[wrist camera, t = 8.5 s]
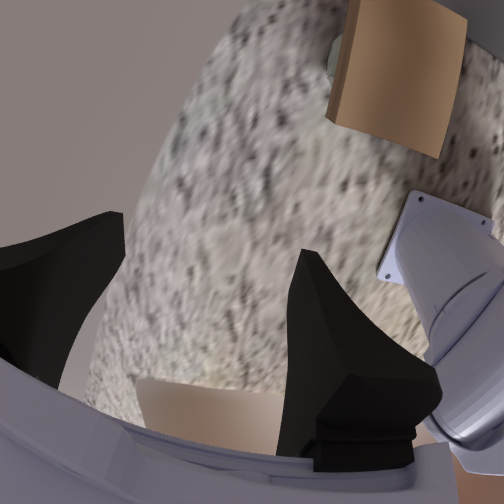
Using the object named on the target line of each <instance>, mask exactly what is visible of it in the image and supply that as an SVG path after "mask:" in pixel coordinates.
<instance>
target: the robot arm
mask: <svg viewBox="0 0 504 504" xmlns="http://www.w3.org/2000/svg"><path fill="white" fill-rule="evenodd" d="M421 196H422V200H421V201H418V199H419V197H421ZM483 220H484V221H483ZM482 221H483V223H482ZM481 223H482V224H481ZM123 225H124V224H123V213H118V212H113V211H109V212H105V213H102V214H99V215H96V216H93V217H91V218H88V219H86V220H83V221H81V222H79V223H76V224H74V225H71V226H69V227H66V228H64V229H61V230H58V231H56V232H53V233H51V234H48V235H45V236H42V237H39V238H36V239H33V240H30V241H27V242H23V243H19V244H15V245H11V246H7V247H2V248H0V504H459V500H458V492H457V485H456V478H455V472H454V466H453V460H452V455H451V451H452V452H453V453H454V454H455V456H456V457H457V458H458V460H459V461H460V462H461V464H462V466H463V468H464V469H465V471H467V472H470V473H476V474H485V475H501V476H504V246H503V245H502V244H501V243H500V242H499V241H498V240H497V239H496V237H495V236H494V235H493V234H492V233H491V232H492V230H493V228H494V221H493V220H492V219H490V218H488V217H485V216H483V215H481V214H478V213H476V212H473V211H471V210H469V209H466V208H464V207H461V206H459V205H456V204H453V203H451V202H448V201H446V200H443V199H440V198H437V197H435V196H432V195H429V194H426V193H424V192H421V191H418V190H412V191H411V192H410V193H409V195H408V198H407V200H406V203H405V206H404V208H403V211H402V214H401V216H400V219H399V221H398V224H397V226H396V229H395V231H394V234H393V236H392V238H391V241H390V243H389V245H388V248H387V250H386V252H385V255H384V257H383V259H382V261H381V264H380V266H379V268H378V270H377V273H376V275H377V278H378V279H379V280H383V281H388V282H393V283H398V284H403V285H405V286H406V288H407V291H408V293H409V295H410V297H411V300H412V302H413V304H414V307H415V309H416V311H417V314H418V316H419V319H420V321H421V323H422V326H423V328H424V331H425V334H426V336H427V339H428V341H429V347H428V349H427V350H426V352H425V353H424V354H423V356H424V359H425V362H424V361H422V360H421V359H419V358H417V357H416V356H414V355H413V354H411V353H410V352H408V351H407V350H406V349H404V348H403V347H401V346H400V345H399V344H397V343H396V342H395V341H394V340H392V339H391V338H390V337H389V336H387V335H386V334H385V333H384V332H383V331H382V330H380V329H379V328H378V327H377V326H376V325H375V324H374V323H373V322H372V321H371V320H370V319H369V318H368V317H367V316H366V315H365V314H364V313H363V312H362V311H361V310H360V309H359V308H358V307H357V306H356V304H355V303H354V302H353V301H352V300H351V298H350V297H349V296H348V295H347V293H346V292H345V291H344V290H343V288H342V287H341V286H340V284H339V283H338V282H337V280H336V279H335V277H334V276H333V274H332V273H331V272H330V270H329V269H328V267H327V266H326V264H325V263H324V261H323V260H322V258H321V257H320V255H319V254H318V252H315V251H311V250H306V249H301V252H300V255H299V259H298V262H297V265H296V269H295V272H294V275H293V278H292V282H291V285H290V288H289V293H288V303H287V343H288V371H287V381H286V390H285V399H284V407H283V414H282V421H281V427H280V434H279V440H278V445H277V451H276V456H273V455H264V454H257V453H250V452H243V451H236V450H231V449H225V448H220V447H215V446H210V445H206V444H201V443H197V442H193V441H188V440H184V439H180V438H177V437H173V436H169V435H165V434H162V433H159V432H155V431H152V430H149V429H146V428H143V427H140V426H137V425H134V424H131V423H128V422H125V421H122V420H120V419H117V418H114V417H112V416H109V415H107V414H104V413H102V412H100V411H98V410H96V409H94V408H92V407H90V406H88V405H87V404H85V403H83V402H81V401H79V400H77V399H75V398H73V397H71V396H68V395H66V394H64V393H62V392H60V391H58V386H59V383H60V379H61V375H62V372H63V369H64V366H65V364H66V361H67V358H68V355H69V352H70V350H71V348H72V345H73V343H74V341H75V338H76V336H77V334H78V332H79V330H80V328H81V326H82V324H83V322H84V320H85V318H86V316H87V315H88V313H89V312H90V310H91V308H92V307H93V306H94V304H95V303H96V301H97V300H98V298H99V297H100V296H101V294H102V293H103V291H104V290H105V289H106V287H107V286H108V284H109V283H110V281H111V280H112V279H113V277H114V276H115V274H116V273H117V271H118V269H119V267H120V265H121V263H122V261H123V259H124V258H125V256H126V254H125V240H124V226H123ZM387 274H389V276H386V275H387ZM422 421H423V423H424V425H425V427H426V428H427V430H428V431H429V433H430V434H431V435H432V436H433V437H434V438H435V439H436V440H437V441H438V442H440V443H433V444H426V445H421V446H418V447H415V448H413V445H412V440H414V439H415V438H416V436H417V434H416V429H415V427H416V425H418V424H419V423H420V422H422Z"/></svg>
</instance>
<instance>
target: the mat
mask: <svg viewBox="0 0 504 504" xmlns="http://www.w3.org/2000/svg"><path fill="white" fill-rule="evenodd" d="M432 1H434V2H436V3H438V4H440V5H442V6H444V7H446V8H448V9H449V10H451V11H453V12H455V13H456V14H458V15H460V16H462V17H463V18H465V19H467V20H468V21H467V31H466V38H467V39H469V40H471V41H472V42H474V43H475V44H477V45H478V46H480V47H481V48H483V49H484V50H486V51H487V52H489V53H490V54H492V55H493V56H495V57H496V58H497V59H499V60H500V61H502V62H503V63H504V0H432Z"/></svg>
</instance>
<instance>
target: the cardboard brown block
mask: <svg viewBox="0 0 504 504" xmlns="http://www.w3.org/2000/svg"><path fill="white" fill-rule="evenodd" d="M467 21H468V20H467V19H465V18H463V17H462V16H460V15H458V14H456V13H455V12H453V11H451V10H449V9H448V8H446V7H444V6H442V5H440V4H438V3H436V2H434V1H432V0H349V5H348V10H347V16H346V21H345V26H344V31H343V37H342V42H341V47H340V52H339V57H338V61H337V66H336V71H335V76H334V80H333V85H332V90H331V94H330V99H329V103H328V107H327V112H326V116H325V117H326V118H328V119H329V120H330V121H332V122H333V123H334V124H336V125H339V126H343V127H347V128H350V129H354V130H357V131H360V132H364V133H367V134H370V135H373V136H376V137H379V138H382V139H385V140H388V141H391V142H394V143H397V144H400V145H403V146H405V147H408V148H411V149H413V150H416V151H419V152H421V153H424V154H426V155H429V156H431V157H434V158H436V159H438V158H439V155H440V152H441V148H442V145H443V142H444V138H445V135H446V131H447V128H448V124H449V120H450V116H451V112H452V108H453V104H454V100H455V95H456V91H457V86H458V81H459V76H460V71H461V65H462V59H463V53H464V46H465V39H466V31H467Z"/></svg>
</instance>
